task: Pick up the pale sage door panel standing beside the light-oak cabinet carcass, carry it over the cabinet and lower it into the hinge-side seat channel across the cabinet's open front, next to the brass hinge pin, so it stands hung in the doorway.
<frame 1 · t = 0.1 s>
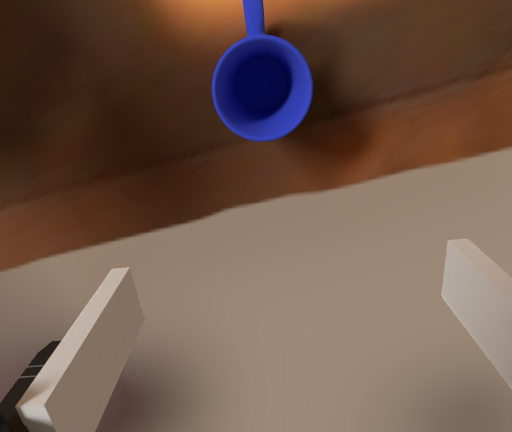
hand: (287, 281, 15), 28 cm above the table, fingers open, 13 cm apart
mug: (259, 63, 38), on the table
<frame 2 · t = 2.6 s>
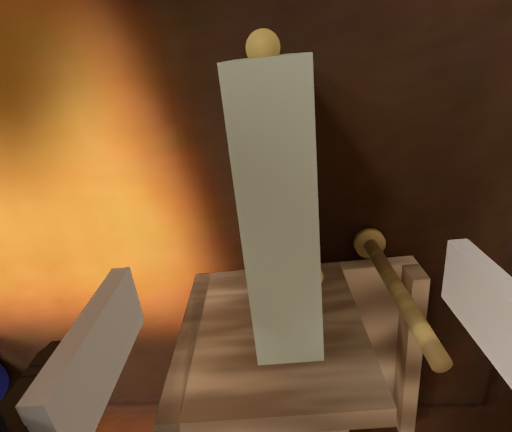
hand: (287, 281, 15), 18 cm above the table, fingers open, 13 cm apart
door: (270, 163, 31), on the table
cabinet: (275, 346, 40), on the table
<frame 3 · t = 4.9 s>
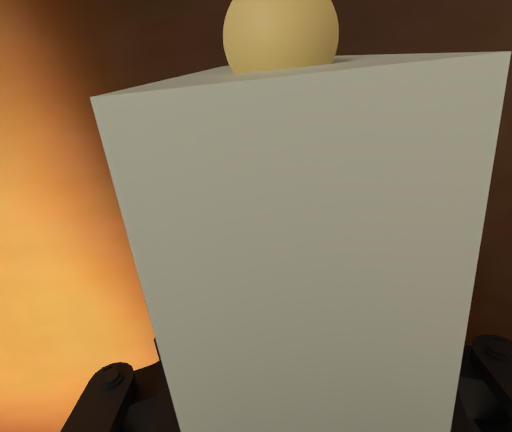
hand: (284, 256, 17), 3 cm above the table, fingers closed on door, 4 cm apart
door: (281, 231, 20), on the table, touching gripper
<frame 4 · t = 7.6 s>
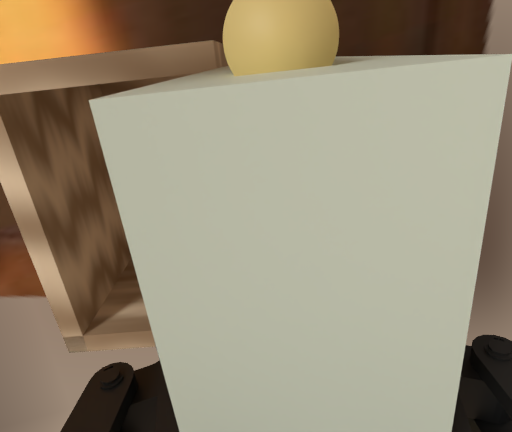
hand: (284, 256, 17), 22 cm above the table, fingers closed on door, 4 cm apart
door: (281, 232, 20), point 19 cm above the table, touching gripper
cabinet: (178, 160, 38), on the table
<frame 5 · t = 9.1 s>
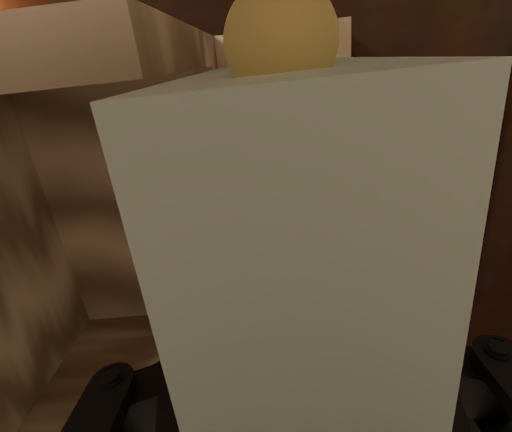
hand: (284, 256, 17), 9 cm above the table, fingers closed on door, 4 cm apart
door: (281, 232, 20), point 6 cm above the table, touching gripper
cabinet: (139, 204, 26), on the table
when the fingers open (5 cm above the table, at t = 10.2 s): door stays where it is, resting on cabinet.
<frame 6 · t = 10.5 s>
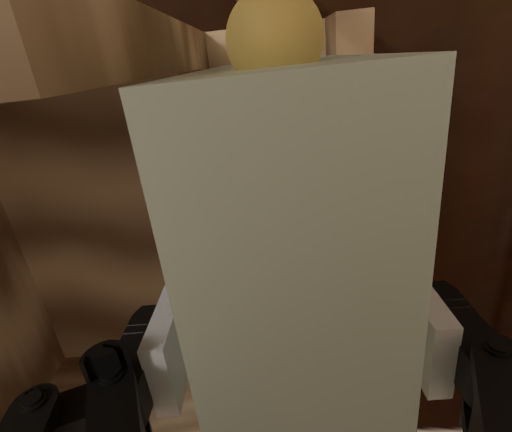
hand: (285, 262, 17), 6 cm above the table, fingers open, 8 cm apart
door: (279, 224, 20), point 1 cm above the table, touching cabinet
cabinet: (121, 228, 22), on the table
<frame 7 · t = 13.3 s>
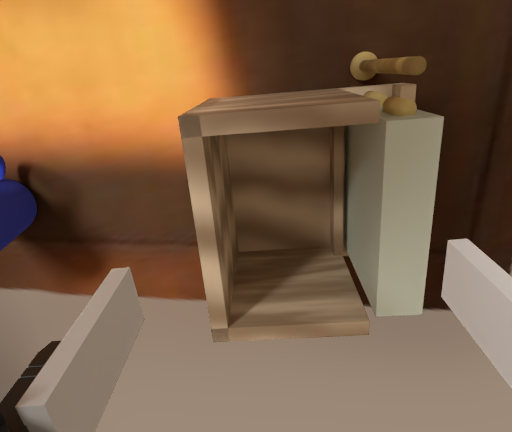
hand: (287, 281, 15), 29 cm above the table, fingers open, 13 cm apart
mug: (13, 186, 45), on the table
door: (362, 178, 42), point 1 cm above the table, touching cabinet
cabinet: (278, 180, 44), on the table
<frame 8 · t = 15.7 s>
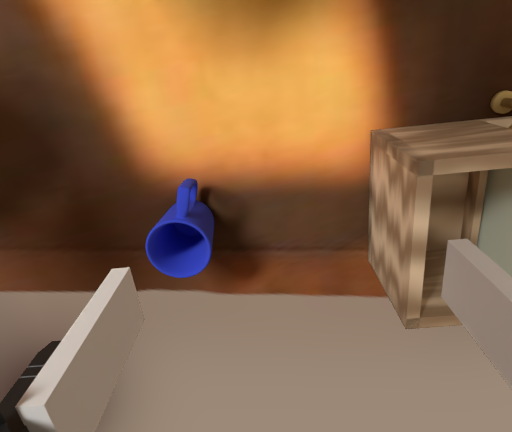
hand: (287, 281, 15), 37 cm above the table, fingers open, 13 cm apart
mug: (193, 205, 54), on the table
door: (493, 192, 51), point 1 cm above the table, touching cabinet
cabinet: (418, 195, 53), on the table
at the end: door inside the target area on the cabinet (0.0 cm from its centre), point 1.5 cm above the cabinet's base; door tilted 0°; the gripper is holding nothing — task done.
